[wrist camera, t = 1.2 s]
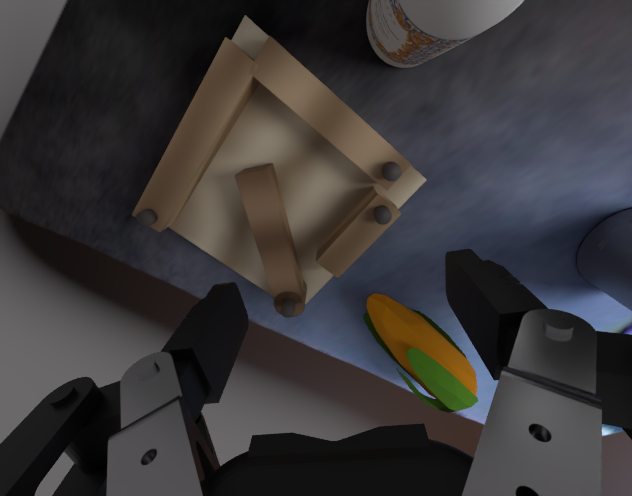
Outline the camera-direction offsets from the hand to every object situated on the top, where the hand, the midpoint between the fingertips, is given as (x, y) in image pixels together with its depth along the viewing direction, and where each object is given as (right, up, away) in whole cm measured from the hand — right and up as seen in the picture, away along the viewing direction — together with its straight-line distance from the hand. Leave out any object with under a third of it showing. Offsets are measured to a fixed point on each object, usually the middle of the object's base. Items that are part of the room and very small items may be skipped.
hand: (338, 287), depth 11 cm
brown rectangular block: (-5, +2, +19) cm, 20 cm away
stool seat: (-5, +7, +19) cm, 21 cm away
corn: (+11, -9, +26) cm, 30 cm away
